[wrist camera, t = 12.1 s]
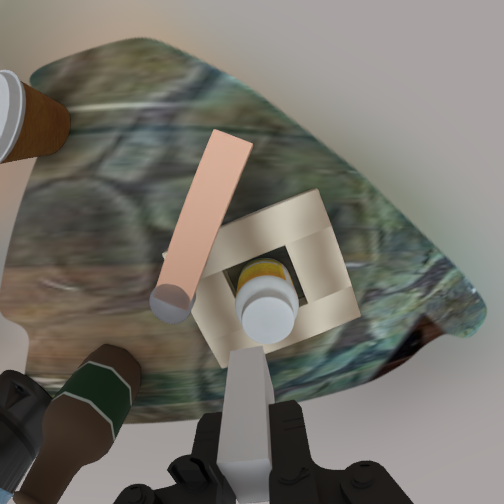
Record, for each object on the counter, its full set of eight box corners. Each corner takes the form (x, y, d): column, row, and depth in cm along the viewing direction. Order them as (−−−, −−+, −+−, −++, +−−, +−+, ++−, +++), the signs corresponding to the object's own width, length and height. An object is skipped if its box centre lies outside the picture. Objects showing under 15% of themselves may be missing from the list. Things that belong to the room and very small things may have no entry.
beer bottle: (130, 338, 34) (28, 496, 10) (153, 389, 36) (89, 547, 12) (81, 344, 34) (-25, 471, 11) (105, 392, 36) (29, 524, 13)
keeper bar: (189, 318, 21) (183, 329, 20) (152, 303, 21) (145, 313, 19) (256, 148, 19) (256, 144, 17) (214, 132, 18) (210, 127, 17)
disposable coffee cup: (96, 119, 28) (29, 99, 16) (49, 185, 30) (-23, 194, 18) (55, 76, 26) (-9, 51, 15) (13, 138, 28) (-54, 134, 16)
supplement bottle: (300, 282, 32) (318, 322, 23) (262, 314, 33) (266, 364, 24) (265, 245, 31) (271, 273, 22) (227, 279, 32) (217, 320, 23)
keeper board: (223, 358, 34) (213, 420, 24) (167, 249, 31) (130, 282, 21) (355, 308, 33) (390, 358, 23) (313, 188, 30) (343, 193, 20)
